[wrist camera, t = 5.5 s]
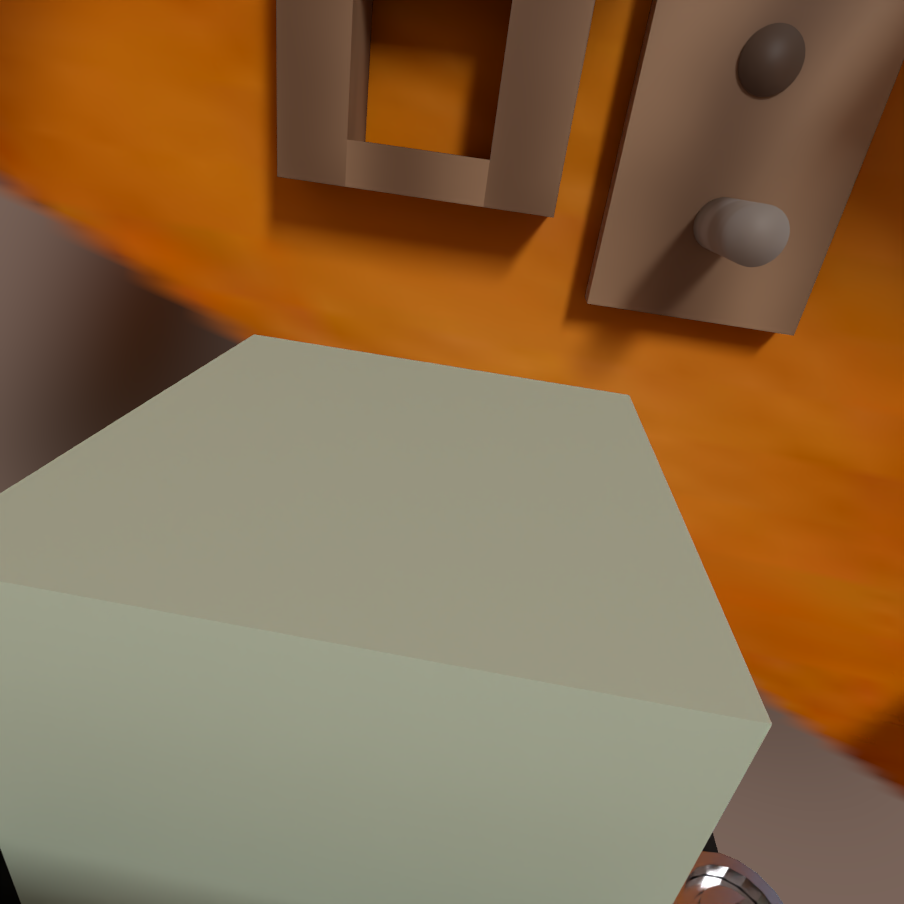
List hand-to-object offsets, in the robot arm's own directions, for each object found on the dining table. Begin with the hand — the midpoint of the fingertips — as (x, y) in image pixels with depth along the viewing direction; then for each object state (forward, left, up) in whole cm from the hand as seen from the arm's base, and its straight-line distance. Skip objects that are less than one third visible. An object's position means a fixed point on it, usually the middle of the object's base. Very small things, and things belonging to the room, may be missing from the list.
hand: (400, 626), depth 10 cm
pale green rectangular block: (0, 0, -1) cm, 1 cm away
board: (-8, -9, -17) cm, 21 cm away
